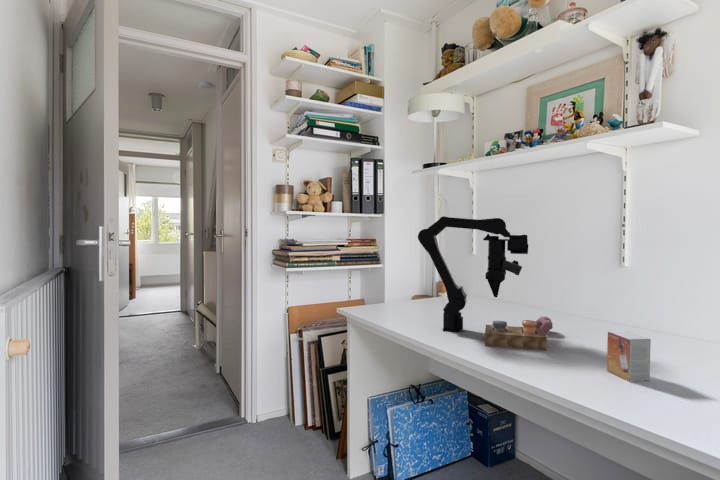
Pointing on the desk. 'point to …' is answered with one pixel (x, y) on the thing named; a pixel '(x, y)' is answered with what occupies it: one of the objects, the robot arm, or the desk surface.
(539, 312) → the desk surface
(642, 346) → the small box
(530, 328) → the terracotta plug
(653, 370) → the desk surface
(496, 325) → the grey plug
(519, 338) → the walnut block
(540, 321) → the video game controller
